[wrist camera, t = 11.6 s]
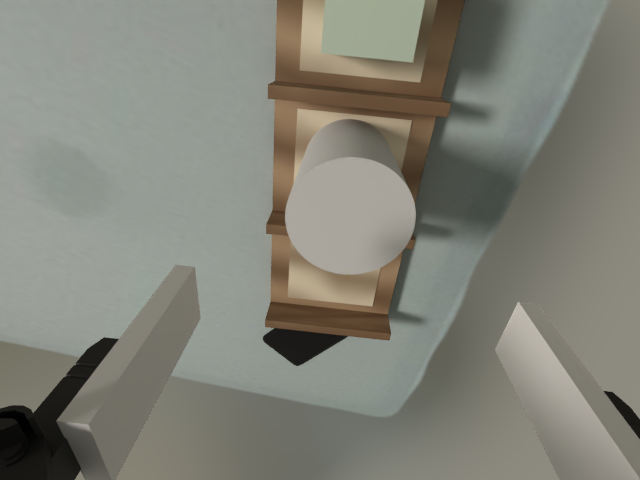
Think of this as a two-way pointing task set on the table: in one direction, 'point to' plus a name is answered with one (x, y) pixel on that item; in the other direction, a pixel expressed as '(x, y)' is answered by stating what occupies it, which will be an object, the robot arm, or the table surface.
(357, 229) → the white cylinder
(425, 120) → the frame
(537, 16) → the table surface
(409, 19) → the sage block
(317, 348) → the smartphone
